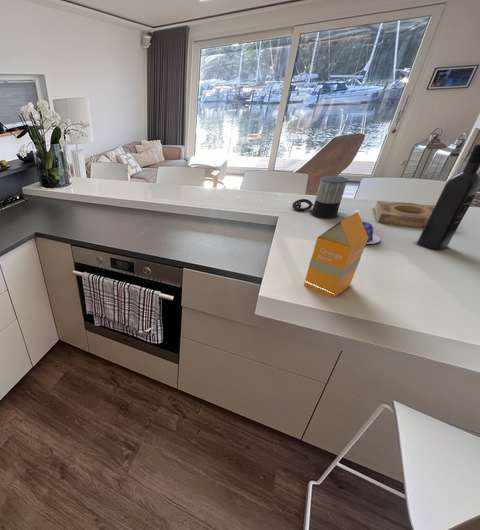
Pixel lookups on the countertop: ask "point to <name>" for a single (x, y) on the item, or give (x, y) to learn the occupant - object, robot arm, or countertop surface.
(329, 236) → the orange juice
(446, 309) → the countertop surface
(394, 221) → the bottle stand
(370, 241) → the pudding
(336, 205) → the milk frother
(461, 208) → the wine bottle
